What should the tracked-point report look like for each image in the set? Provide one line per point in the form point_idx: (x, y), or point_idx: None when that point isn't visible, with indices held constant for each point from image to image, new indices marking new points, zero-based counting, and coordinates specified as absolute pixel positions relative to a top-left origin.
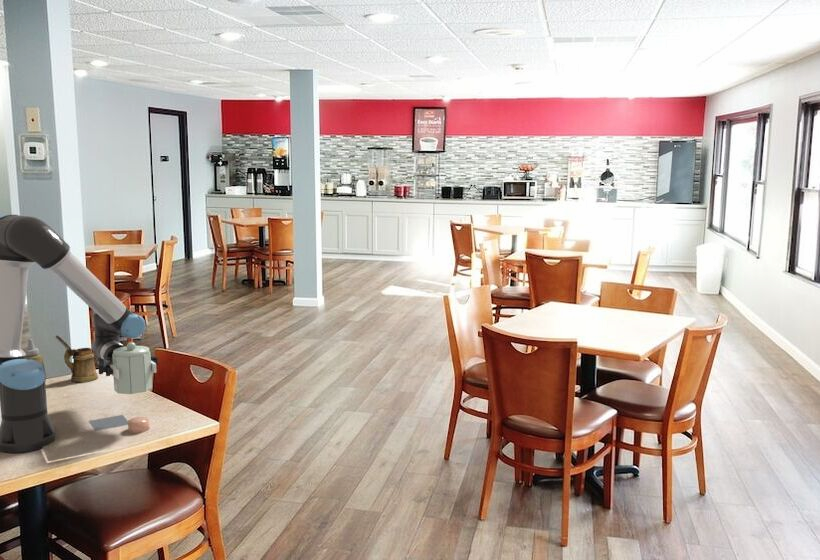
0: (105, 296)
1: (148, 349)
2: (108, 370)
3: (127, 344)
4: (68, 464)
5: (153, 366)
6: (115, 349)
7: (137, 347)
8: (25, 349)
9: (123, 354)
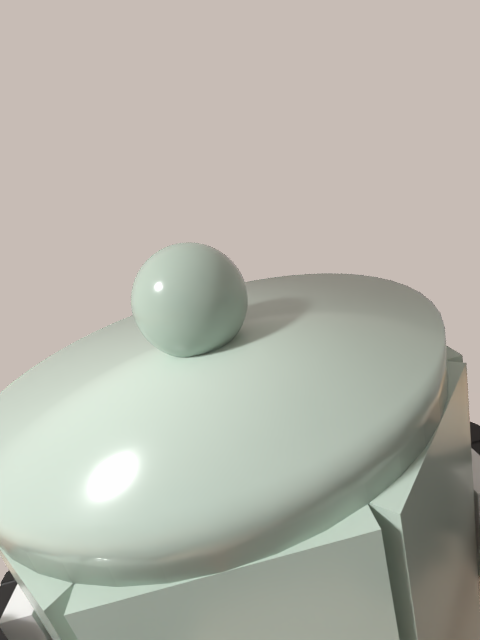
0: None
1: (66, 347)
2: (478, 430)
3: (225, 255)
4: None
5: None
6: (429, 349)
7: (84, 406)
8: None
9: (299, 278)
